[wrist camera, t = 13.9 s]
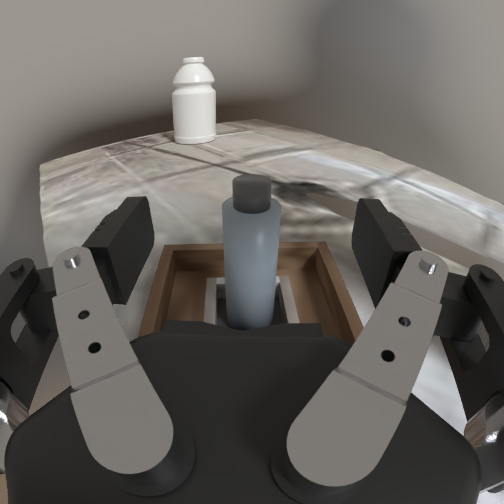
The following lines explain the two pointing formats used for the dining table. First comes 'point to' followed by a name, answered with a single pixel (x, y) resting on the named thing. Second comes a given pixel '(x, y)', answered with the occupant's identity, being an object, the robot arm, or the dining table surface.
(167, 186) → the dining table surface
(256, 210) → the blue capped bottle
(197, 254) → the wooden box
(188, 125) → the bottle
